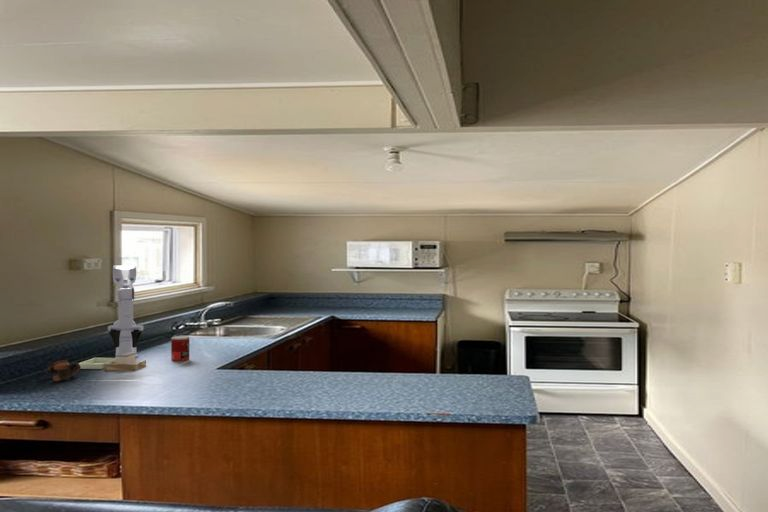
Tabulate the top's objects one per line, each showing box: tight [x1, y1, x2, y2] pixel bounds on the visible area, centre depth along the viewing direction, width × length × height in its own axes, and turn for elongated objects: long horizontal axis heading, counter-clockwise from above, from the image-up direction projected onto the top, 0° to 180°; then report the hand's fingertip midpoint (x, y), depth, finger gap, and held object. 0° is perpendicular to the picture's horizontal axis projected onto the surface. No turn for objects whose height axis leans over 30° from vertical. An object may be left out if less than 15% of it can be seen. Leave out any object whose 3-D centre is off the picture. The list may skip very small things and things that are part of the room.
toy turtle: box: [45, 360, 81, 382], centre depth 205 cm, size 12×10×8 cm
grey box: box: [115, 351, 137, 364], centre depth 221 cm, size 8×5×6 cm, turn 179°
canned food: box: [170, 335, 190, 362], centre depth 239 cm, size 8×8×11 cm
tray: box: [77, 357, 117, 370], centre depth 225 cm, size 13×11×2 cm
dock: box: [104, 359, 147, 372], centre depth 221 cm, size 10×13×3 cm
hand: (125, 347), depth 221 cm, fingers open, 7 cm apart
